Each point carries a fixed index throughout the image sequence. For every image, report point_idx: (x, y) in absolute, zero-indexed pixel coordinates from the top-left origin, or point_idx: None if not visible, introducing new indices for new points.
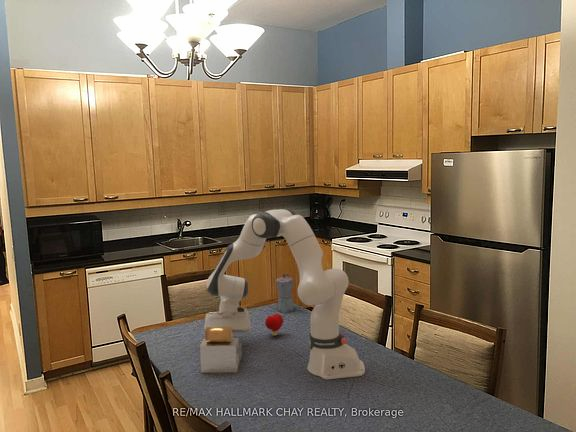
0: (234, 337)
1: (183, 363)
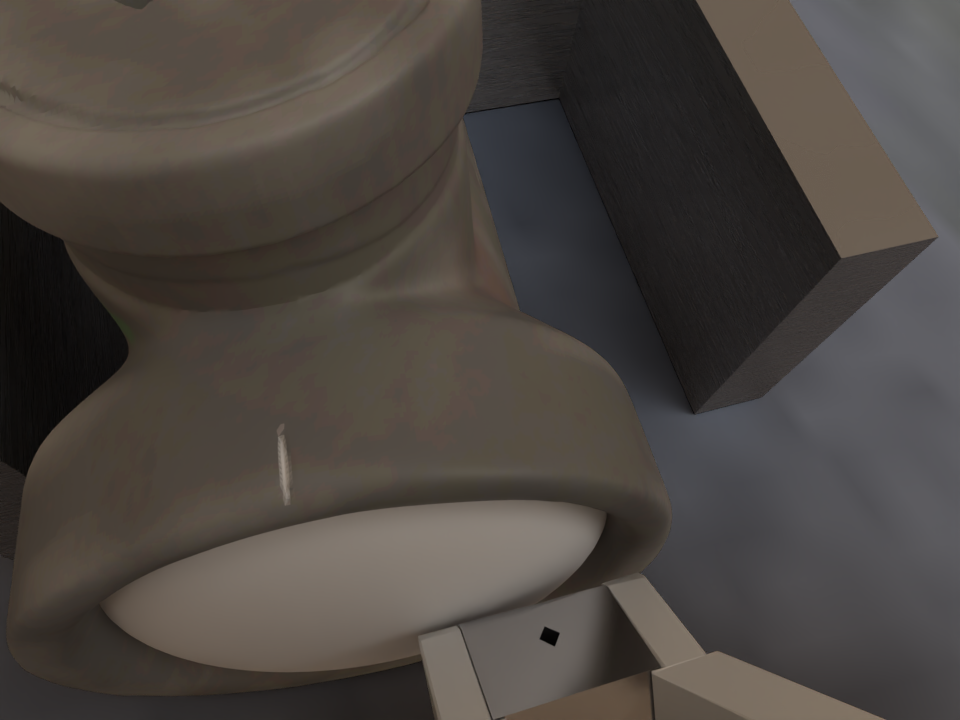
0: (84, 446)
1: (924, 61)
